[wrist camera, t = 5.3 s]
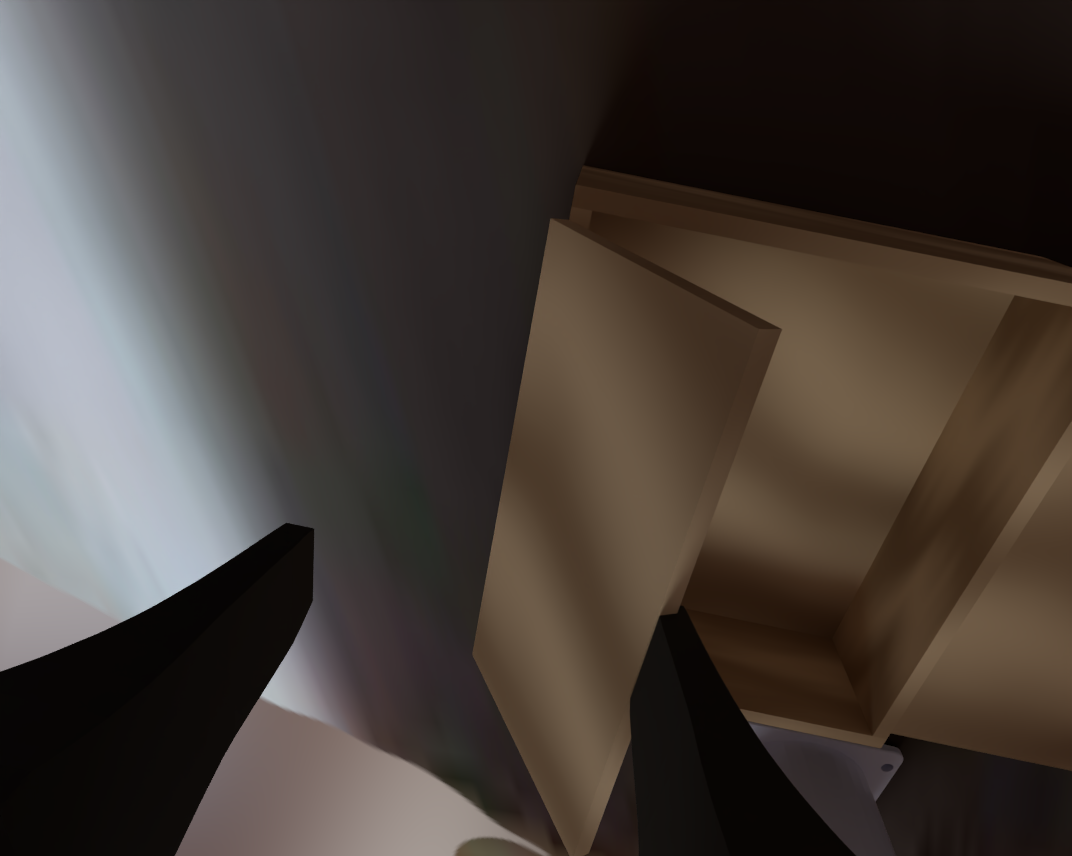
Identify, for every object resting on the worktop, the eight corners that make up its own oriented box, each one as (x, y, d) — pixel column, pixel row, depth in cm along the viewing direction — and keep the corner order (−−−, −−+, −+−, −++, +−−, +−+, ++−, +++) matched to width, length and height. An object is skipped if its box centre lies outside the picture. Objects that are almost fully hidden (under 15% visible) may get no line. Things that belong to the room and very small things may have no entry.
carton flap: (588, 853, 17) (572, 860, 17) (486, 651, 22) (472, 654, 22) (781, 328, 10) (758, 329, 10) (568, 220, 15) (550, 218, 15)
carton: (1002, 675, 27) (1081, 789, 22) (503, 572, 27) (483, 666, 22) (1273, 303, 19) (1470, 363, 15) (583, 165, 20) (576, 184, 15)
